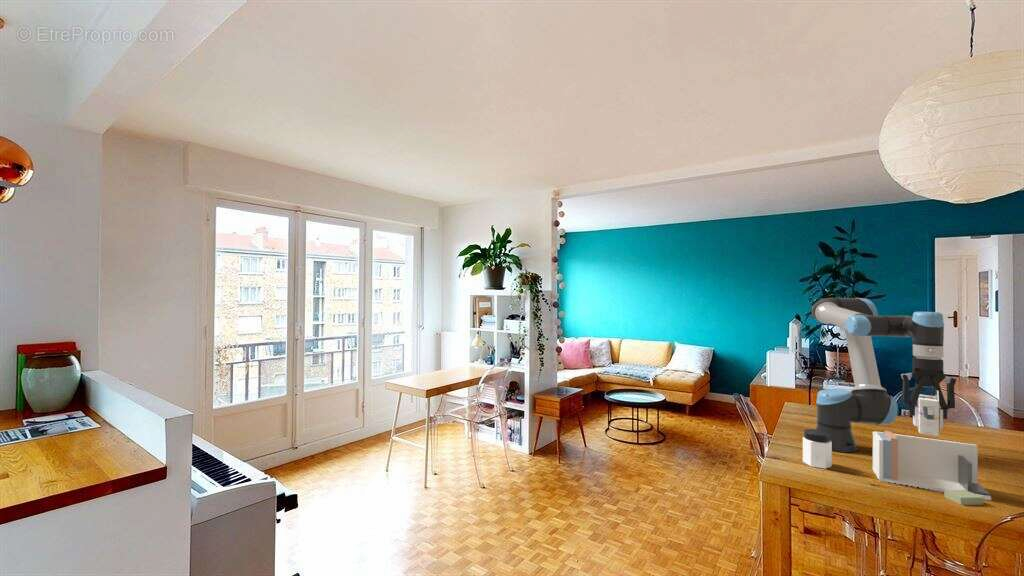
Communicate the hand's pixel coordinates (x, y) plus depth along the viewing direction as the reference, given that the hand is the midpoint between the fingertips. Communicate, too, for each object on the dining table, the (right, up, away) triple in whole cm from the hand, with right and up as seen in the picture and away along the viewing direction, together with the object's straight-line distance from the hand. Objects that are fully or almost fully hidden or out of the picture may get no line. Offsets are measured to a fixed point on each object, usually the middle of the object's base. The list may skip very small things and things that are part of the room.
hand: (927, 426), depth 147 cm
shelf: (0, -20, +1) cm, 20 cm away
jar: (-26, -20, +17) cm, 36 cm away
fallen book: (0, -20, -11) cm, 23 cm away
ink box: (0, -2, 0) cm, 2 cm away
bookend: (+9, -18, -6) cm, 21 cm away
